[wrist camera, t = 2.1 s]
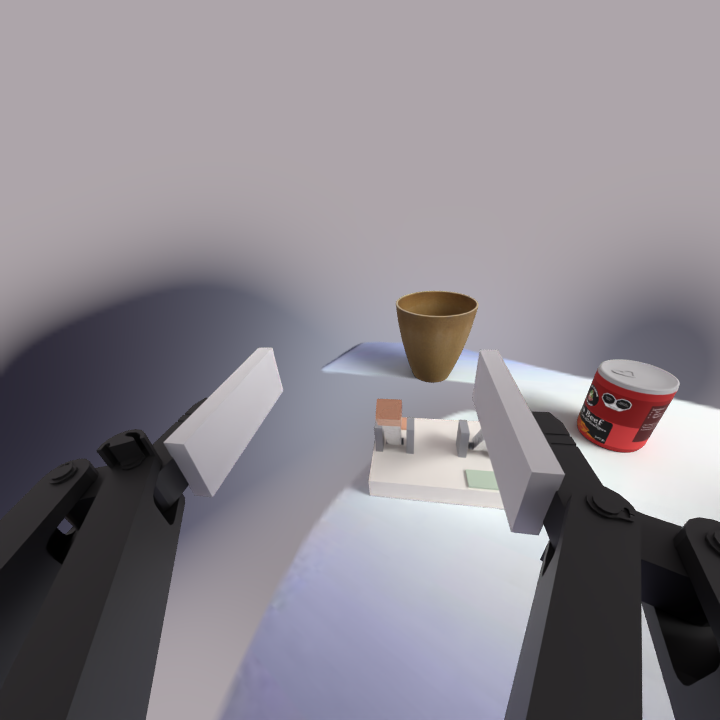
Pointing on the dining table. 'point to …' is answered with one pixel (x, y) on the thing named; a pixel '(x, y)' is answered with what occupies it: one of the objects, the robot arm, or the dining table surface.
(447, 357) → the plant pot
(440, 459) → the console
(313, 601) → the dining table surface
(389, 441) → the lever
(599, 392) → the canned food
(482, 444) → the lever
